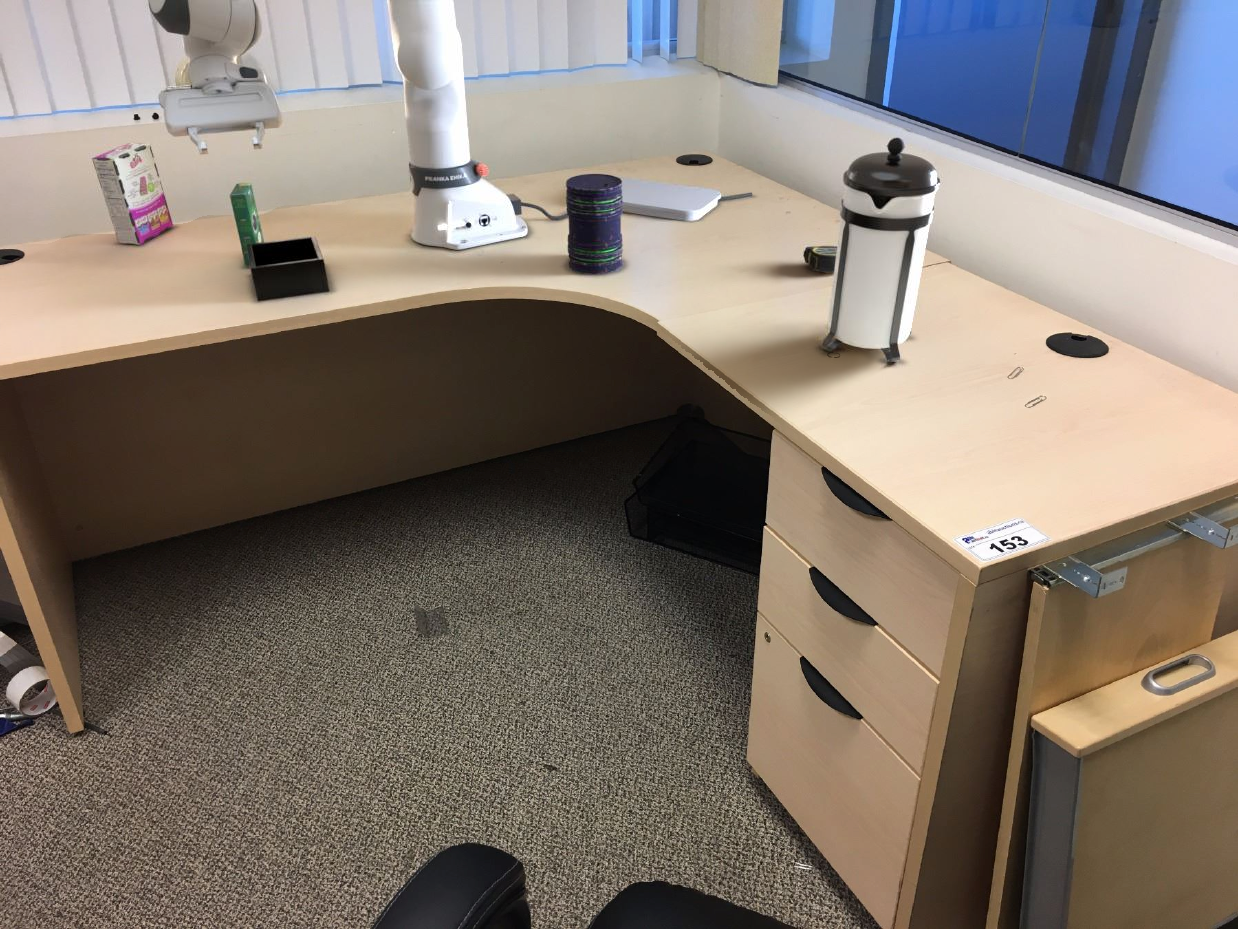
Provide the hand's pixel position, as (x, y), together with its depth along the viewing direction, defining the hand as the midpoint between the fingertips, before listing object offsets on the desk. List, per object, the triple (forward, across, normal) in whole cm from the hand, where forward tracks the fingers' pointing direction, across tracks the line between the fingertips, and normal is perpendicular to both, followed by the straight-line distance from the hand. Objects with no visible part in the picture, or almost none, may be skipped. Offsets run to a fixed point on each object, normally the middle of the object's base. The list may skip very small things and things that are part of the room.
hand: (231, 149), depth 173 cm
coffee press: (+71, +84, -47) cm, 119 cm away
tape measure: (+51, +94, -27) cm, 110 cm away
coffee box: (+20, 0, +4) cm, 21 cm away
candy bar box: (+5, -19, +19) cm, 27 cm away
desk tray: (+31, +5, -7) cm, 32 cm away
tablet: (+18, +81, +6) cm, 83 cm away
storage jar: (+39, +57, -15) cm, 71 cm away
